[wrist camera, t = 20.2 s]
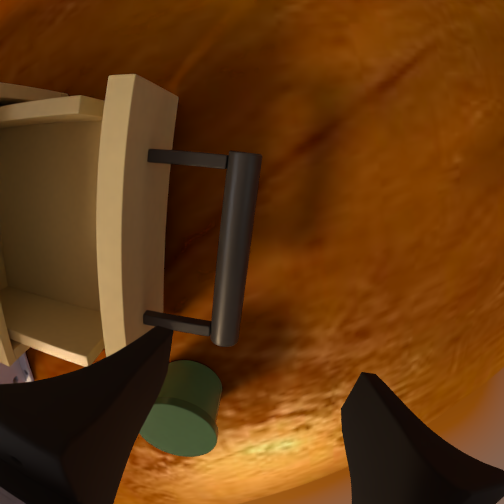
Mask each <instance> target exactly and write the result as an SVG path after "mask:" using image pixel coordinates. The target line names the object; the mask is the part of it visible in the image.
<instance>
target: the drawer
mask: <svg viewBox="0 0 504 504" xmlns="http://www.w3.org/2000/svg"><path fill="white" fill-rule="evenodd" d="M178 99H179V97H178V96H176V95H174V94H172V93H170V92H169V91H167V90H165V89H163V88H161V87H160V86H158V85H156V84H154V83H152V82H150V81H148V80H146V79H145V78H143V77H141V76H139V75H137V74H121V75H109V77H108V83H107V90H106V96H105V101H104V100H100V99H96V98H92V97H87V96H83V95H76V96H66V97H58V98H50V99H42V100H35V101H29V102H23V103H17V104H11V105H6V106H1V107H0V301H1V305H2V310H3V314H4V319H5V323H6V327H7V330H8V334H9V338H10V339H12V340H15V341H17V342H19V343H22V344H24V345H27V346H29V347H32V348H34V349H37V350H39V351H42V352H44V353H47V354H50V355H52V356H55V357H58V358H61V359H64V360H66V361H69V362H72V363H75V364H78V365H81V366H84V367H87V366H89V365H92V363H93V362H94V361H95V359H96V358H97V357H98V355H99V354H100V353H101V352H102V350H103V349H104V348H105V352H106V357H108V356H110V355H111V354H113V353H115V352H117V351H119V350H120V349H122V348H124V347H125V346H127V345H128V344H130V343H132V342H133V341H135V340H136V339H138V338H139V337H141V336H142V335H144V334H145V333H147V332H148V331H149V330H151V329H152V328H154V327H155V326H157V325H158V326H162V327H165V328H168V329H172V330H175V331H181V332H186V333H192V334H198V335H203V336H210V339H211V341H212V342H213V343H214V344H216V345H218V346H222V347H230V346H233V345H235V344H236V343H237V342H238V337H239V330H240V322H241V314H242V307H243V299H244V291H245V284H246V276H247V269H248V261H249V253H250V246H251V238H252V231H253V223H254V215H255V208H256V200H257V193H258V185H259V178H260V170H261V163H262V155H261V154H255V153H247V152H239V151H229V155H224V154H214V153H204V152H192V151H180V150H172V146H173V137H174V129H175V121H176V113H177V106H178ZM171 164H177V165H188V166H199V167H209V168H218V169H227V171H226V180H225V188H224V197H223V206H222V215H221V225H220V234H219V244H218V254H217V265H216V275H215V286H214V298H213V309H212V321H206V320H200V319H194V318H189V317H183V316H177V315H172V314H166V313H163V289H164V254H165V233H166V216H167V201H168V188H169V177H170V166H171ZM210 333H211V334H210Z"/></svg>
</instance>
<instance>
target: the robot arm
mask: <svg viewBox="0 0 504 504" xmlns="http://www.w3.org/2000/svg"><path fill="white" fill-rule="evenodd" d="M172 336H173V330H172V329H168V328H165V327H162V326H158V325H157V326H155V327H154V328H152V329H151V330H149V331H148V332H147V333H145V334H144V335H142V336H141V337H139V338H138V339H136V340H135V341H133V342H132V343H130V344H128V345H127V346H125V347H124V348H122V349H120V350H119V351H117V352H115V353H113V354H111V355H110V356H108V357H106V358H104V359H102V360H100V361H98V362H96V363H94V364H92V365H89V366H87V367H84V368H82V369H79V370H76V371H73V372H70V373H67V374H63V375H60V376H56V377H52V378H48V379H43V380H38V381H34V379H33V376H32V372H31V369H30V366H29V363H28V360H27V356H26V353H23V354H22V355H21V356H20V357H19V358H18V359H17V360H16V361H15V362H14V363H13V364H12V365H11V366H10V367H9V366H7V365H5V364H3V363H1V362H0V504H113V503H114V499H115V496H116V493H117V490H118V487H119V484H120V481H121V478H122V475H123V472H124V469H125V466H126V463H127V460H128V458H129V455H130V452H131V450H132V447H133V444H134V442H135V440H136V438H137V436H138V434H139V432H140V430H141V428H142V426H143V424H144V422H145V420H146V419H147V417H148V415H149V413H150V411H151V409H152V407H153V405H154V403H155V401H156V399H157V398H158V396H159V394H160V391H161V388H162V386H163V383H164V380H165V378H166V375H167V372H168V365H169V358H170V350H171V343H172ZM341 422H342V433H343V439H344V444H345V450H346V455H347V460H348V465H349V471H350V477H351V487H352V504H496V503H497V502H498V501H499V500H500V499H501V498H502V497H504V471H503V470H501V469H499V468H496V467H493V466H491V465H488V464H485V463H483V462H481V461H479V460H477V459H475V458H473V457H471V456H469V455H467V454H465V453H463V452H462V451H460V450H458V449H457V448H455V447H454V446H452V445H451V444H449V443H448V442H446V441H445V440H443V439H442V438H441V437H440V436H438V435H437V434H436V433H434V432H433V431H432V430H431V429H430V428H428V427H427V426H426V425H425V424H424V423H423V422H422V421H421V420H420V419H419V418H418V417H417V416H416V415H415V414H414V413H413V412H412V411H411V410H410V409H409V408H408V407H407V406H406V405H405V404H404V403H403V402H402V401H401V400H400V399H399V398H398V397H397V396H396V395H395V394H394V392H393V391H392V390H391V389H390V388H389V387H388V386H387V385H386V384H385V383H384V382H383V381H382V380H381V379H380V378H379V377H378V376H377V375H376V374H372V373H365V372H362V373H361V374H360V376H359V378H358V380H357V382H356V384H355V385H354V387H353V389H352V391H351V392H350V394H349V396H348V398H347V399H346V401H345V403H344V404H343V406H342V408H341Z"/></svg>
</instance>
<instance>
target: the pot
mask: <svg viewBox="0 0 504 504" xmlns="http://www.w3.org/2000/svg"><path fill="white" fill-rule="evenodd" d="M221 395H222V384H221V381H220V379H219V377H218V376H217V375H216V374H215V373H214V372H213V371H212V370H211V369H210V368H208V367H207V366H205V365H203V364H201V363H198V362H195V361H190V360H177V361H173V362H171V363H169V365H168V372H167V375H166V378H165V380H164V383H163V386H162V388H161V391H160V394H159V396H158V398H157V399H156V401H155V403H154V405H153V407H152V409H151V411H150V413H149V415H148V417H147V419H146V420H145V422H144V424H143V426H142V428H141V430H140V432H139V433H140V435H141V436H142V437H143V438H144V439H145V440H146V441H147V442H149V443H150V444H151V445H153V446H154V447H156V448H158V449H160V450H162V451H164V452H167V453H170V454H174V455H178V456H185V457H194V456H200V455H204V454H206V453H208V452H210V451H211V450H212V449H213V448H214V447H215V445H216V443H217V439H218V427H217V425H216V420H217V415H218V410H219V405H220V400H221Z"/></svg>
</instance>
